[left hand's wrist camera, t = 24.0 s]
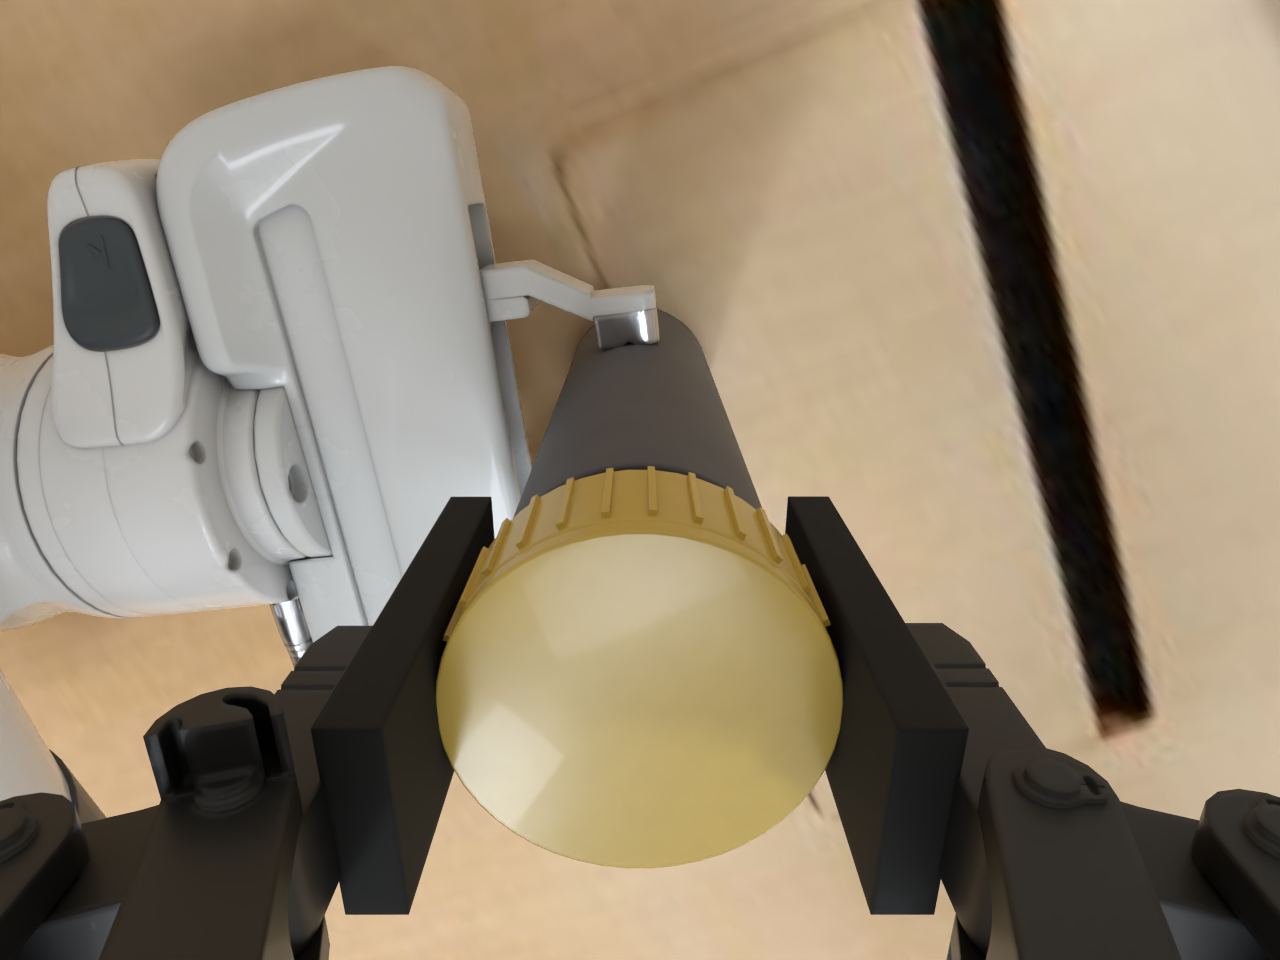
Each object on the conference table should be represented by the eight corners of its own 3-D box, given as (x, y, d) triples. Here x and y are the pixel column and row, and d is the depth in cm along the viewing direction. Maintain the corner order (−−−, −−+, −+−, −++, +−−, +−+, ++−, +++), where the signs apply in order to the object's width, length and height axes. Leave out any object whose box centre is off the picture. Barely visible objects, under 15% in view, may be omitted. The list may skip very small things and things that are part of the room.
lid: (428, 715, 13) (387, 817, 11) (519, 412, 11) (490, 465, 9) (736, 800, 14) (754, 911, 12) (873, 528, 12) (922, 602, 10)
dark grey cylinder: (545, 373, 29) (398, 666, 11) (641, 277, 28) (643, 439, 10) (638, 463, 30) (635, 851, 13) (733, 376, 29) (880, 672, 11)
